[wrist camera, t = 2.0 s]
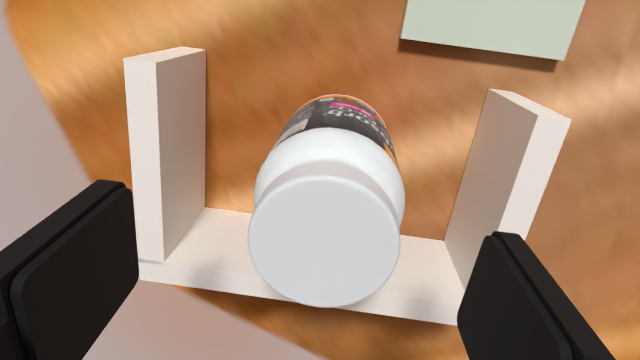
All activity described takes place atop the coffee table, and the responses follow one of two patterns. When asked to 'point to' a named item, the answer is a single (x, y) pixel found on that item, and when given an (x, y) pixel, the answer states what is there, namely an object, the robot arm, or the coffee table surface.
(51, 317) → the robot arm
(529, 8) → the tile
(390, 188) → the pill bottle
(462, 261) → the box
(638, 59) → the coffee table surface
